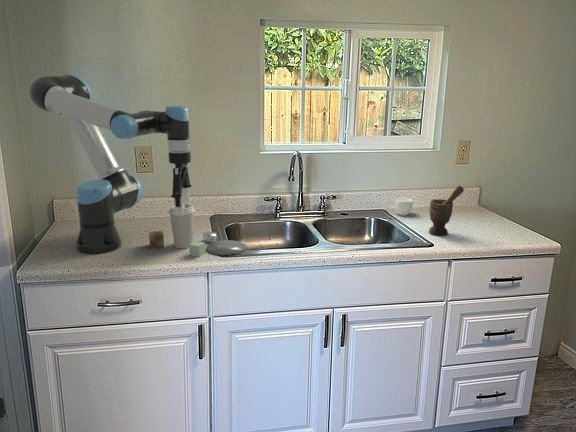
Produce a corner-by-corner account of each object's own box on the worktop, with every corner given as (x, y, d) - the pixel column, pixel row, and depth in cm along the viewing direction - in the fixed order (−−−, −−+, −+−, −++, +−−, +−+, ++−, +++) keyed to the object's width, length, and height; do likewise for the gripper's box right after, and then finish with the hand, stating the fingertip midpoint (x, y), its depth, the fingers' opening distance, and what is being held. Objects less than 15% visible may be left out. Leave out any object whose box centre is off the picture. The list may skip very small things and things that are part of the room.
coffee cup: (191, 250, 189) (189, 210, 185) (165, 248, 191) (163, 208, 186) (200, 242, 198) (199, 203, 194) (176, 240, 200) (174, 201, 195)
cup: (396, 216, 234) (397, 201, 232) (391, 210, 243) (392, 196, 241) (413, 216, 234) (414, 202, 232) (408, 210, 243) (409, 196, 241)
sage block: (189, 255, 185) (189, 244, 184) (195, 251, 188) (195, 241, 187) (199, 257, 183) (199, 246, 182) (205, 253, 187) (205, 242, 186)
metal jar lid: (202, 243, 197) (202, 236, 196) (204, 239, 202) (204, 231, 201) (215, 243, 197) (215, 236, 196) (217, 239, 202) (217, 231, 201)
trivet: (204, 255, 185) (204, 253, 185) (209, 242, 198) (209, 240, 198) (244, 255, 185) (244, 253, 185) (247, 242, 198) (247, 240, 198)
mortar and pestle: (452, 230, 216) (458, 182, 210) (460, 236, 208) (466, 187, 202) (424, 230, 216) (429, 182, 210) (431, 237, 207) (436, 187, 202)
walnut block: (150, 249, 190) (149, 236, 189) (149, 244, 195) (148, 231, 194) (164, 248, 192) (163, 235, 190) (163, 243, 196) (162, 230, 195)
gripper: (183, 157, 172) (187, 220, 178) (195, 145, 196) (198, 201, 202) (160, 157, 172) (164, 220, 178) (175, 145, 196) (178, 201, 202)
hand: (182, 210), depth 190 cm, fingers open, 13 cm apart
